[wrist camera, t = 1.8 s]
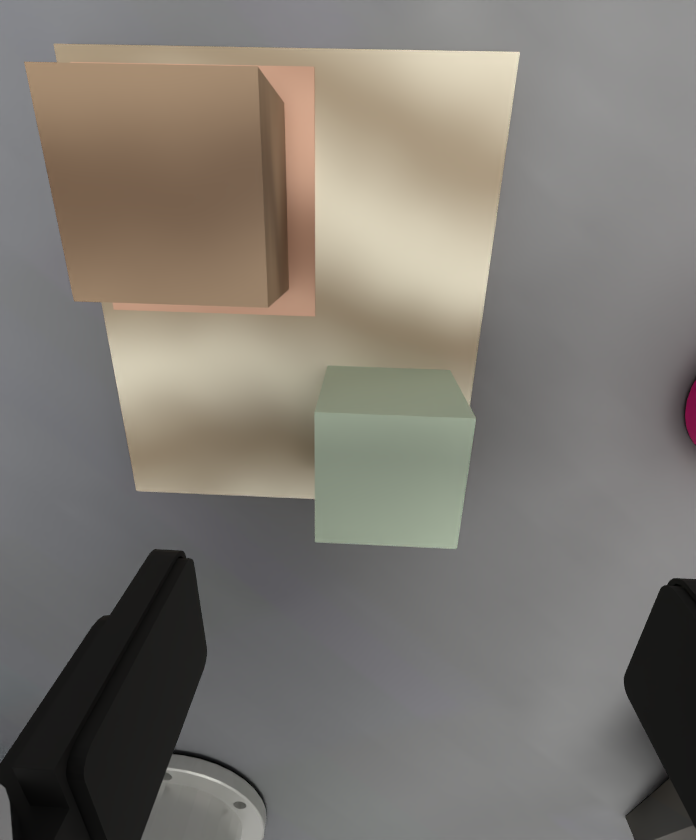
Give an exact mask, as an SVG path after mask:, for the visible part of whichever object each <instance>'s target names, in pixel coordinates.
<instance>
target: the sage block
mask: <svg viewBox="0 0 696 840" xmlns="http://www.w3.org/2000/svg"><path fill="white" fill-rule="evenodd" d="M475 423H476V417H475V415H474V414H473V412H472V410H471V408H470V406H469V404H468V402H467V401H466V399H465V397H464V395H463V393H462V391H461V389H460V388H459V386H458V384H457V382H456V380H455V378H454V376H453V375H452V373H451V371H450V370H437V369H410V368H383V367H356V366H327V369H326V373H325V376H324V380H323V384H322V387H321V391H320V394H319V398H318V401H317V405H316V408H315V412H314V424H315V542H319V543H340V544H361V545H382V546H403V547H424V548H445V549H457V544H458V537H459V531H460V524H461V517H462V510H463V504H464V497H465V490H466V484H467V477H468V470H469V464H470V457H471V450H472V443H473V437H474V430H475Z"/></svg>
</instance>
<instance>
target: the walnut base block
mask: <svg viewBox="0 0 696 840" xmlns="http://www.w3.org/2000/svg"><path fill="white" fill-rule="evenodd" d="M24 63H25V68H26V73H27V77H28V82H29V87H30V92H31V97H32V101H33V106H34V111H35V116H36V121H37V125H38V130H39V135H40V140H41V145H42V149H43V154H44V159H45V164H46V169H47V173H48V178H49V183H50V188H51V193H52V197H53V202H54V207H55V212H56V217H57V222H58V226H59V231H60V236H61V241H62V246H63V250H64V255H65V260H66V265H67V270H68V274H69V279H70V284H71V289H72V294H73V298H74V301H81V302H111V303H141V304H171V305H200V306H230V307H260V308H268V307H270V306H271V305H272V304H273V303H274V302H275V301H276V300H277V299H279V298H280V297H281V296H282V295H283V294H284V293H285V292H287V291H288V290H289V271H288V231H287V190H286V150H285V110H284V102H283V100H282V99H281V98H280V96H279V95H278V94H277V92H276V91H275V89H274V88H273V87H272V85H271V84H270V83H269V81H268V80H267V78H266V77H265V76H264V74H263V73H262V72H261V70H260V69H259V67H258V66H219V65H166V64H113V63H60V62H24Z"/></svg>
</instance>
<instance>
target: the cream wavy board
mask: <svg viewBox="0 0 696 840" xmlns="http://www.w3.org/2000/svg"><path fill="white" fill-rule="evenodd" d="M54 48H55V54H56V59H57V62H60V63H113V64H166V65H219V66H258V67H259V69H260V70H261V72H262V73H263V74H264V76H265V77H266V78H267V80H268V81H269V83H270V84H271V85H272V87H273V88H274V89H275V91H276V92H277V94H278V95H279V96H280V98H281V99H282V100H283V102H284V110H285V150H286V190H287V231H288V271H289V290H288V291H287V292H285V293H284V294H283V295H282V296H281V297H280V298H279V299H277V300H276V301H275V302H274V303H273V304H272V305H271V306H270V307H268V308H260V307H230V306H200V305H171V304H141V303H111V302H102V308H103V313H104V319H105V324H106V329H107V335H108V340H109V346H110V351H111V356H112V362H113V367H114V373H115V378H116V383H117V389H118V394H119V400H120V405H121V410H122V416H123V421H124V427H125V432H126V437H127V443H128V448H129V454H130V459H131V464H132V470H133V475H134V481H135V486H136V491H146V492H168V493H191V494H213V495H235V496H258V497H280V498H302V499H315V424H314V412H315V408H316V405H317V401H318V398H319V394H320V391H321V387H322V384H323V380H324V376H325V373H326V369H327V366H356V367H383V368H410V369H437V370H450V371H451V373H452V375H453V376H454V378H455V380H456V382H457V384H458V386H459V388H460V389H461V391H462V393H463V395H464V397H465V399H466V401H467V402H468V404H469V406H470V401H471V394H472V387H473V379H474V372H475V365H476V358H477V351H478V344H479V337H480V330H481V323H482V316H483V309H484V302H485V295H486V288H487V280H488V273H489V266H490V259H491V252H492V245H493V238H494V231H495V224H496V217H497V210H498V203H499V196H500V189H501V181H502V174H503V167H504V160H505V153H506V146H507V139H508V132H509V125H510V118H511V111H512V104H513V97H514V89H515V82H516V75H517V68H518V61H519V54H520V52H489V51H433V50H377V49H320V48H264V47H207V46H151V45H94V44H54Z"/></svg>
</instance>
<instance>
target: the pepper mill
mask: <svg viewBox="0 0 696 840" xmlns="http://www.w3.org/2000/svg"><path fill="white" fill-rule="evenodd" d="M685 420H686V427H687V430H688V433H689V436H690V438H691V439H692V441H693V443H694V444H695V445H696V380H695V382H694V383H693V385H692V387H691V390H690V393H689V396H688V399H687V403H686V411H685Z"/></svg>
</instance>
